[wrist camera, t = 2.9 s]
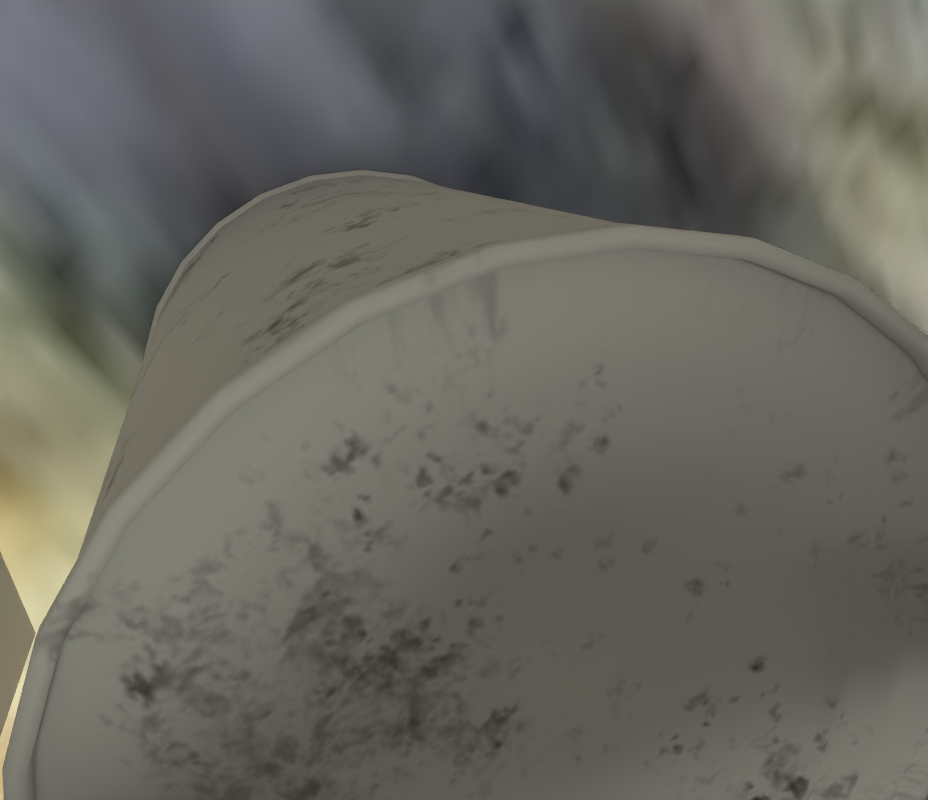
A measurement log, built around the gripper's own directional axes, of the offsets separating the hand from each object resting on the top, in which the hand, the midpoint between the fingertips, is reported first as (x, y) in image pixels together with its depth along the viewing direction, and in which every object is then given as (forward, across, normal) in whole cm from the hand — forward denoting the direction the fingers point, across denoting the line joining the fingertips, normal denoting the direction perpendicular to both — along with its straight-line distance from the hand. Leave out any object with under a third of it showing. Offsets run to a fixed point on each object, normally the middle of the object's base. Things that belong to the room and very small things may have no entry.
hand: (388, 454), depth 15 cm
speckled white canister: (+4, 0, 0) cm, 5 cm away
